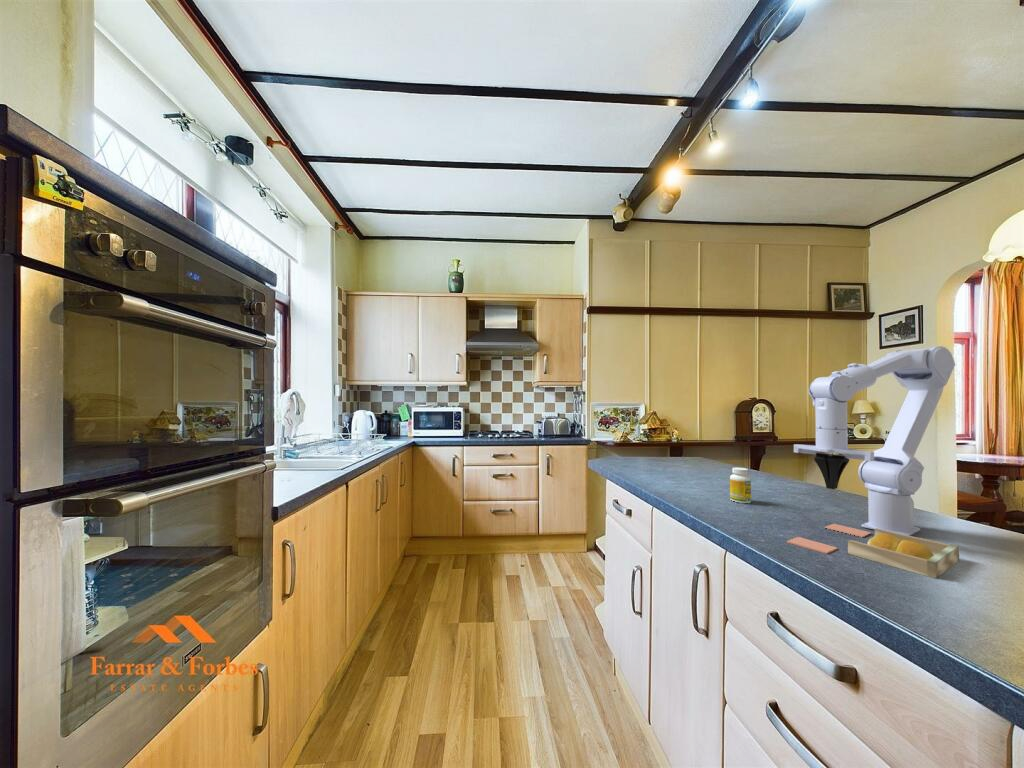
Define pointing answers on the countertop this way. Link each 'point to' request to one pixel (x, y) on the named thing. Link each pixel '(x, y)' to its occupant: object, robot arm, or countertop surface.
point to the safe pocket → (931, 567)
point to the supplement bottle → (740, 485)
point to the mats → (823, 547)
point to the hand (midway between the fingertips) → (831, 488)
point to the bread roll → (900, 546)
